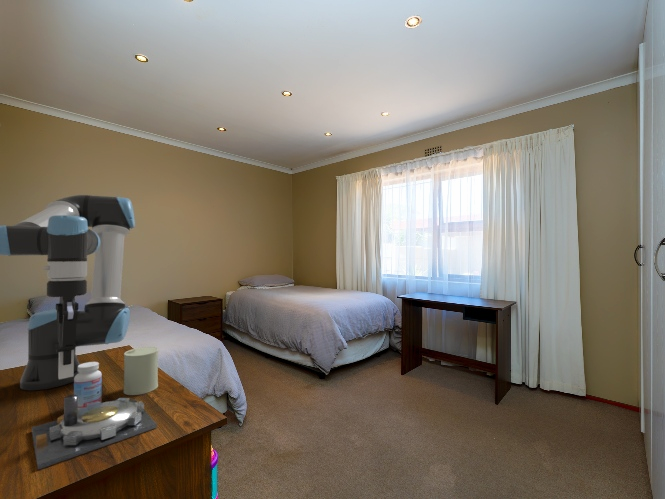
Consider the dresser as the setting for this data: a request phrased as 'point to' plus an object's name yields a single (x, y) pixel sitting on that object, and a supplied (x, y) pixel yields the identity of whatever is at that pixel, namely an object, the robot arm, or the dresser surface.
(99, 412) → the sprocket
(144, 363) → the pale green cylinder
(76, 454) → the base plate
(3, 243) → the robot arm
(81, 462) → the dresser surface
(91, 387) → the pill bottle
